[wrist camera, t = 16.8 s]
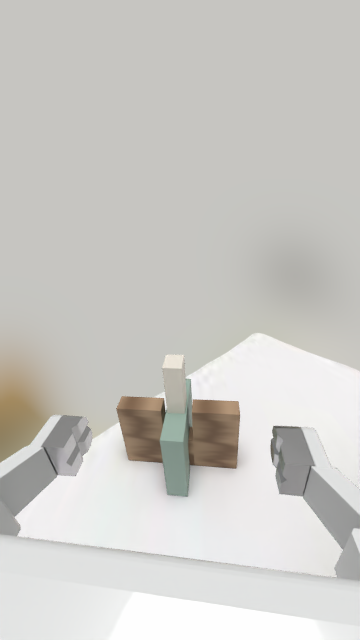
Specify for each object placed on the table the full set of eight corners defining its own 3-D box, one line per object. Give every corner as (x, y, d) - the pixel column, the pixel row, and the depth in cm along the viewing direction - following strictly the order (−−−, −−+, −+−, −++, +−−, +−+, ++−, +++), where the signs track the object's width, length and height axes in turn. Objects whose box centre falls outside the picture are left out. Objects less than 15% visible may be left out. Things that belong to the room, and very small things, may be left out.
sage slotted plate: (193, 428, 47) (188, 338, 38) (187, 496, 36) (179, 393, 28) (177, 427, 47) (169, 338, 39) (167, 494, 37) (153, 392, 28)
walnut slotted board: (235, 454, 42) (238, 401, 37) (236, 468, 40) (240, 414, 34) (132, 446, 44) (121, 396, 39) (128, 460, 42) (116, 408, 37)
